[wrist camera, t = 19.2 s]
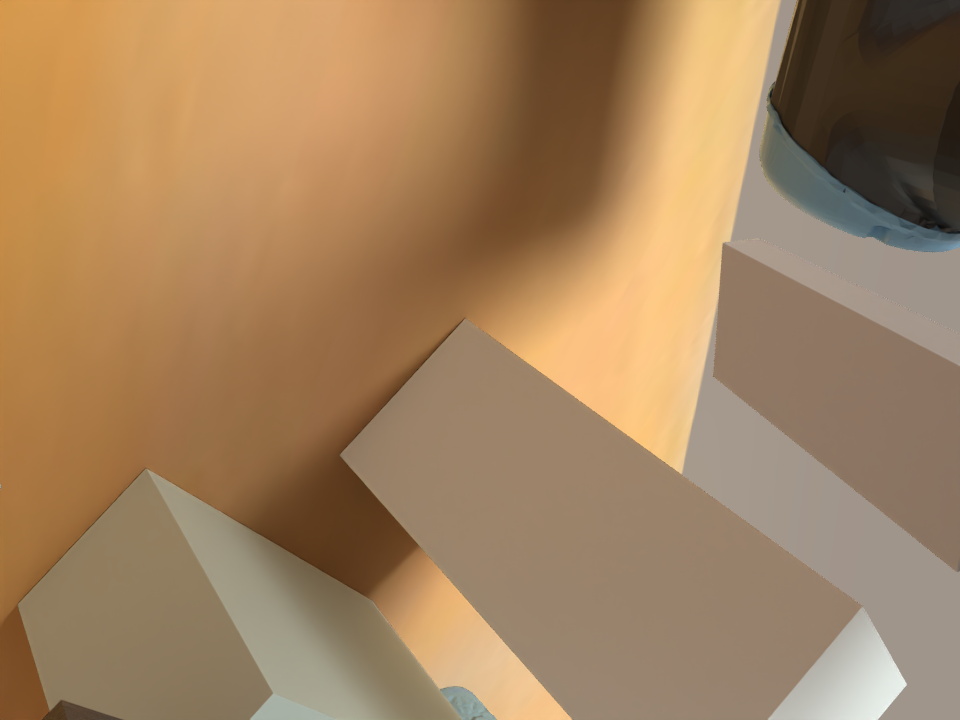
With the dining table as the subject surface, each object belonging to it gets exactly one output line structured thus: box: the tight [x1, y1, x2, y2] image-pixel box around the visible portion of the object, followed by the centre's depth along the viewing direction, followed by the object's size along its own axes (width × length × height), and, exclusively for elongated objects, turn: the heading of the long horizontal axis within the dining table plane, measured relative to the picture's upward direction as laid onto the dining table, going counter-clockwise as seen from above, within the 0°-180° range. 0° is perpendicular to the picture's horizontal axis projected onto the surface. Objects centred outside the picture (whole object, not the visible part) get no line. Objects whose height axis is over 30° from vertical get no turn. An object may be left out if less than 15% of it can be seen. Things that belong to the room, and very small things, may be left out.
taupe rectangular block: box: [340, 318, 907, 720], centre depth 51 cm, size 12×12×30 cm
